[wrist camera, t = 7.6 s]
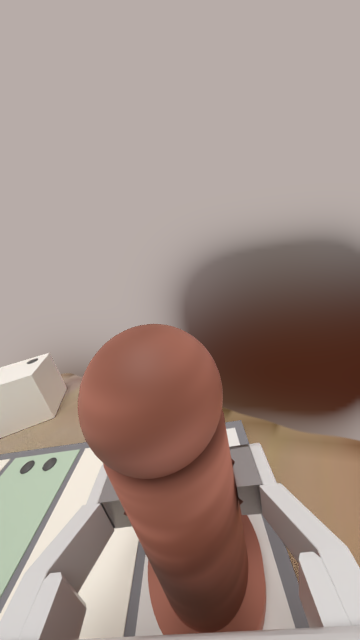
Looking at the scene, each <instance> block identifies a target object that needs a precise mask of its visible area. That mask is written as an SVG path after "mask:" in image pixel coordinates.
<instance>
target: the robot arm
mask: <svg viewBox="0 0 360 640" xmlns="http://www.w3.org/2000/svg"><path fill="white" fill-rule="evenodd" d="M229 448H230V454H231V460H232V466H233V473H234V479H235V484H236V491H237V497H238V501H239V506H240V510H241V514H242V515H254V514H263V517H264V518H265V519H266V521H267V522H268V523H269V525H270V526H271V527H272V528H273V530H274V531H275V532H276V534H277V535H278V536H279V538H280V539H281V540H282V542H283V543H284V544H285V546H286V547H287V548H288V550H289V551H290V552H291V554H292V555H293V556H294V558H295V559H296V560H297V562H298V563H299V597H300V600H301V603H302V606H303V609H304V612H305V615H306V618H307V621H308V624H309V627H310V628H294V629H274V630H253V631H233V632H213V633H193V634H173V635H152V636H132V637H112V638H92V639H79V636H80V632H81V629H82V625H83V621H84V617H85V614H86V610H87V608H86V603H85V602H84V601H83V600H82V598H81V597H80V596H79V595H78V592H79V591H80V589H81V587H82V585H83V584H84V582H85V580H86V579H87V577H88V575H89V573H90V572H91V570H92V568H93V567H94V565H95V563H96V561H97V560H98V558H99V556H100V555H101V553H102V551H103V549H104V548H105V546H106V544H107V543H108V541H109V539H110V538H111V536H112V534H113V532H114V531H115V530H114V529H116V528H123V527H131V526H132V525H131V523H130V521H129V519H128V517H127V515H126V512H125V510H124V508H123V506H122V504H121V502H120V500H119V498H118V496H117V494H116V492H115V490H114V488H113V486H112V484H111V482H110V480H109V477H108V475H107V473H106V471H105V469H104V465H102V466H101V468H100V470H99V473H98V475H97V478H96V480H95V483H94V485H93V488H92V490H91V493H90V495H89V498H88V500H87V503H86V505H82V507H81V508H80V509H79V510H78V511H77V512H76V514H75V515H74V516H73V517H72V518H71V520H70V521H69V522H68V523H67V524H66V525H65V527H64V528H63V529H62V530H61V531H60V532H59V534H58V535H57V536H56V537H55V538H54V539H53V541H52V542H51V543H50V544H49V545H48V546H47V548H46V549H45V550H44V551H43V552H42V553H41V555H40V556H39V557H38V558H37V559H36V560H35V562H34V563H33V564H32V565H31V566H30V567H29V569H28V570H27V571H26V572H25V573H24V575H23V577H22V579H21V581H20V583H19V585H18V587H17V589H16V591H15V593H14V595H13V597H12V599H11V601H10V603H9V605H8V607H7V609H6V611H5V613H4V615H3V617H2V619H1V621H0V640H360V568H359V566H358V564H357V563H356V561H355V559H354V557H353V556H352V554H351V552H350V550H349V548H348V547H347V546H346V545H345V544H344V543H343V542H342V541H341V540H340V539H338V538H337V537H336V536H335V535H334V534H333V533H332V532H331V531H330V530H329V529H328V528H327V527H326V526H325V525H324V524H323V523H322V522H321V521H320V520H319V519H318V518H317V517H315V516H314V515H313V514H312V513H311V512H310V511H309V510H308V509H307V508H306V507H305V506H304V505H303V504H302V503H301V502H300V501H299V500H298V499H297V498H296V497H295V496H294V495H292V494H291V493H290V492H289V491H288V490H287V489H286V488H285V487H284V486H283V485H282V484H281V483H277V482H276V480H275V478H274V475H273V473H272V470H271V468H270V466H269V463H268V461H267V458H266V456H265V454H264V451H263V449H262V446H261V445H260V443H254V444H244V445H238V446H231V447H229Z"/></svg>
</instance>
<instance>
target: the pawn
mask: <svg viewBox="0 0 360 640" xmlns="http://www.w3.org/2000/svg"><path fill="white" fill-rule="evenodd" d="M222 402H223V392H222V384H221V379H220V375H219V371H218V369H217V367H216V364H215V362H214V360H213V358H212V357H211V355H210V354H209V352H208V351H207V350H206V348H205V347H204V346H203V345H202V344H201V343H200V342H199V341H198V340H197V339H196V338H194V337H193V336H192V335H190V334H188V333H187V332H185V331H183V330H181V329H178V328H175V327H172V326H168V325H161V324H147V325H140V326H136V327H133V328H130V329H127V330H125V331H123V332H121V333H119V334H118V335H116V336H114V337H113V338H112V339H110V340H109V341H108V342H107V343H105V344H104V345H103V346H102V348H101V349H100V350H99V351H98V352H97V353H96V354H95V356H94V357H93V359H92V360H91V361H90V363H89V365H88V367H87V369H86V371H85V373H84V376H83V379H82V382H81V385H80V390H79V397H78V415H79V421H80V427H81V429H82V432H83V435H84V437H85V440H86V442H87V444H88V445H89V447H90V448H91V450H92V451H93V453H94V454H95V455H96V456H97V457H98V458H99V459H100V460H101V461H102V462H103V465H104V469H105V471H106V473H107V475H108V477H109V480H110V482H111V484H112V486H113V488H114V490H115V492H116V494H117V496H118V498H119V500H120V502H121V504H122V506H123V508H124V510H125V512H126V515H127V517H128V519H129V521H130V523H131V525H132V527H133V529H134V531H135V533H136V535H137V537H138V539H139V541H140V543H141V545H142V548H143V550H144V552H145V554H146V556H147V558H148V586H149V594H150V600H151V604H152V608H153V612H154V615H155V618H156V620H157V623H158V626H159V628H160V630H161V632H162V634H163V635H173V634H193V633H213V632H233V631H253V630H263V626H264V620H265V612H266V583H265V575H264V567H263V559H262V554H261V549H260V545H259V541H258V538H257V535H256V532H255V530H254V528H253V525H252V523H251V521H250V519H249V517H248V516H247V515H242V514H241V510H240V506H239V501H238V497H237V491H236V484H235V479H234V473H233V466H232V460H231V454H230V448H229V442H228V437H227V431H226V425H225V419H224V413H223V411H222Z"/></svg>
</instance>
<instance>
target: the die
mask: <svg viewBox="0 0 360 640" xmlns="http://www.w3.org/2000/svg"><path fill="white" fill-rule="evenodd" d="M66 390H67V387H66V385H65V383H64V381H63V379H62V377H61V375H60V373H59V371H58V368H57V366H56V365H55V362H54V360H53V358H52V356H51V354H50V353H48V354H44V355H41V356H37V357H34V358H31V359H27V360H24V361H21V362H17V363H14V364H11V365H7V366H4V367H1V368H0V438H2V437H5V436H8V435H10V434H13V433H16V432H18V431H21V430H23V429H26V428H29V427H31V426H34V425H37V424H39V423H42V422H44V421H47V420H50V419H52V418H55V415H56V413H57V411H58V408H59V406H60V404H61V401H62V399H63V397H64V394H65V392H66Z"/></svg>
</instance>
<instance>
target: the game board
mask: <svg viewBox="0 0 360 640" xmlns="http://www.w3.org/2000/svg"><path fill="white" fill-rule="evenodd" d="M225 425H226V431H227V437H228V442H229V447H231V446H238V445H244V444H249V442H248V439H247V436H246V433H245V430H244V428H243V425H242V422H241V420H240V421H233V422H226V423H225ZM102 465H103V462H102V461H101V460H100V459H99V458H98V457H97V456H96V455H95V454H94V453H93V451H92V450H91V448H90V447H89V445H88V444H87V442H85V443H78V444H71V445H64V446H57V447H50V448H42V449H35V450H28V451H21V452H14V453H7V454H0V621H1V619H2V617H3V615H4V613H5V611H6V609H7V607H8V605H9V603H10V601H11V599H12V597H13V595H14V593H15V591H16V589H17V587H18V585H19V583H20V581H21V579H22V577H23V575H24V573H25V572H26V571H27V570H28V569H29V567H30V566H31V565H32V564H33V563H34V562H35V560H36V559H37V558H38V557H39V556H40V555H41V553H42V552H43V551H44V550H45V549H46V548H47V546H48V545H49V544H50V543H51V542H52V541H53V539H54V538H55V537H56V536H57V535H58V534H59V532H60V531H61V530H62V529H63V528H64V527H65V525H66V524H67V523H68V522H69V521H70V520H71V518H72V517H73V516H74V515H75V514H76V512H77V511H78V510H79V509H80V508H81V507H82V505H86V503H87V500H88V498H89V495H90V493H91V490H92V488H93V485H94V483H95V480H96V478H97V475H98V473H99V470H100V468H101V466H102ZM247 516H248V517H249V519H250V521H251V523H252V525H253V528H254V530H255V532H256V535H257V538H258V541H259V545H260V549H261V554H262V559H263V567H264V575H265V583H266V612H265V620H264V626H263V630H274V629H294V628H310V627H309V624H308V621H307V618H306V615H305V612H304V609H303V606H302V603H301V600H300V597H299V584H298V581H297V578H296V575H295V572H294V569H293V567H292V564H291V561H290V558H289V555H288V552H287V550H286V547H285V544H284V543H283V542H282V540H281V539H280V538H279V536H278V535H277V534H276V532H275V531H274V530H273V528H272V527H271V526H270V525H269V523H268V522H267V521H266V519H265V518H264V517H263V514H254V515H247ZM114 530H115V531H114V532H113V534H112V536H111V538H110V539H109V541H108V543H107V544H106V546H105V548H104V549H103V551H102V553H101V555H100V556H99V558H98V560H97V561H96V563H95V565H94V567H93V568H92V570H91V572H90V573H89V575H88V577H87V579H86V580H85V582H84V584H83V585H82V587H81V589H80V591H79V592H78V595H79V596H80V597H81V598H82V600H83V601H84V602H85V603H86V608H87V610H86V614H85V617H84V621H83V625H82V629H81V632H80V636H79V639H92V638H112V637H132V636H152V635H163V634H162V632H161V630H160V628H159V626H158V623H157V620H156V618H155V615H154V612H153V608H152V604H151V600H150V594H149V586H148V558H147V556H146V554H145V552H144V550H143V548H142V545H141V543H140V541H139V539H138V537H137V535H136V533H135V531H134V529H133V527H132V526H131V527H123V528H116V529H114Z"/></svg>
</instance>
